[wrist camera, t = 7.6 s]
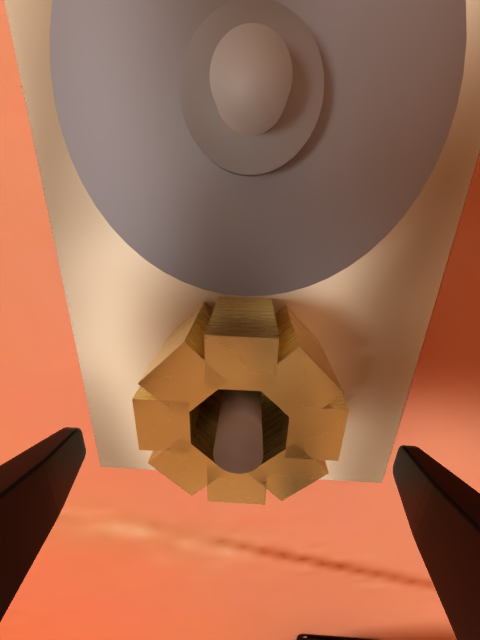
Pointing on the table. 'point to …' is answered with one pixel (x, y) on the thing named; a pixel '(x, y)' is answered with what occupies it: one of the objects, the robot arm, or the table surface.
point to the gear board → (328, 308)
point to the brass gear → (241, 374)
